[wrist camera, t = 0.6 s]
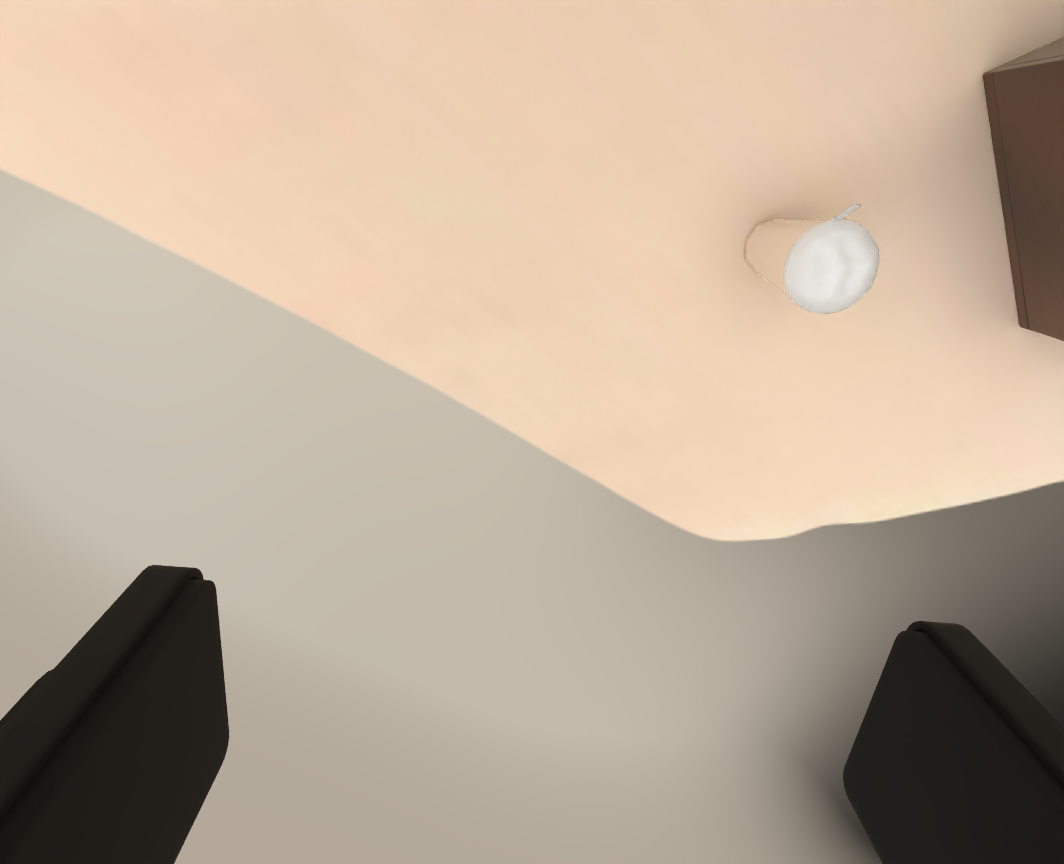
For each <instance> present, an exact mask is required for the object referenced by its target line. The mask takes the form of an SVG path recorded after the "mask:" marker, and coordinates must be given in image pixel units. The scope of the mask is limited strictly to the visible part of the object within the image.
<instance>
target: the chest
mask: <svg viewBox="0 0 1064 864" xmlns="http://www.w3.org/2000/svg"><path fill="white" fill-rule="evenodd" d="M983 78H984V85H985V92H986V99H987V105H988V112H989V119H990V126H991V133H992V139H993V146H994V153H995V160H996V167H997V174H998V180H999V187H1000V194H1001V201H1002V208H1003V214H1004V221H1005V228H1006V235H1007V242H1008V248H1009V255H1010V262H1011V269H1012V276H1013V282H1014V289H1015V296H1016V303H1017V310H1018V317H1019V323H1020V327H1023V328H1026V329H1030V330H1032V331H1035V332H1038V333H1041V334H1044V335H1047V336H1050V337H1053V338H1056V339H1059V340H1062V341H1064V38H1061V39H1059V40H1057V41H1055V42H1053V43H1050V44H1048V45H1046V46H1044V47H1042V48H1039V49H1037V50H1035V51H1033V52H1031V53H1028V54H1026V55H1024V56H1022V57H1020V58H1017V59H1015V60H1013V61H1011V62H1009V63H1006V64H1004V65H1002V66H1000V67H998V68H995V69H993V70H991V71H989V72H987V73H984V74H983Z"/></svg>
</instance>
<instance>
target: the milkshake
mask: <svg viewBox="0 0 1064 864" xmlns="http://www.w3.org/2000/svg"><path fill="white" fill-rule="evenodd" d="M860 206H861V204H857V205H851V206H850V207H849V208H847V209H846V210H844V211H843V212H842V213H840V214H839V215H838V216H836V217H835V218H834V219H832V220H794V219H772V220H770V221H767V222H765V223H762V224H760V225H758V226H756V227H755V229H754V230H753V232H752V233H751V235H750V236H749V237H748V239H747V240H746V253H745V259H746V260H747V261H748V263H749V264H750V266H751V267H752V268H753V270H754V271H755V272H756V273H757V274H759V275H760V276H761V277H763V278H764V279H765V280H767V281H768V282H769V283H771V284H772V285H773V286H775V287H776V288H777V289H779V290H780V291H781V292H783V293H784V294H785V295H786V296H787V297H788V298H789V299H791V300H792V301H793V302H794V303H795V304H796V305H798V306H799V307H800V308H802V309H804V310H806V311H808V312H811V313H815V314H828V313H834V312H838V311H841V310H843V309H845V308H847V307H849V306H851V305H852V304H854V303H855V302H856V301H858V300H859V299H860V298H862V297H863V296H864V295H865V294H866V293H867V292H868V290H869V289H870V288H871V286H872V284H873V282H874V280H875V277H876V273H877V268H878V263H879V250H878V247H877V245H876V243H875V241H874V239H873V238H872V236H871V235H870V233H869V232H868V231H867V230H866V229H865V228H864V227H863V226H862V225H860V224H858V223H856V222H853V221H849V220H842V219H843V218H844V217H846V216H847V215H849V214H850V213H851V212H853V211H854V210H855V209H857V208H858V207H860Z"/></svg>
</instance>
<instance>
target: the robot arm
mask: <svg viewBox="0 0 1064 864" xmlns="http://www.w3.org/2000/svg"><path fill="white" fill-rule="evenodd" d="M216 595H217V594H216V588H215V584H214V582H212V581H209V580H203V575H202V573H201V571H200V570H199V569H197V568H188V567H173V566H161V565H152V566H148V567H147V568H146V569H145V570H143V571H142V573H141V574H140V575H139V576H138V577H137V578H136V579H135V580H134V581H133V582H132V584H131V585H130V586H129V587H128V588H127V589H126V590H125V591H124V592H123V593H122V594H121V596H120V597H119V598H118V599H117V600H116V601H115V602H114V603H113V604H112V605H111V607H110V608H109V609H108V610H107V611H106V612H105V613H104V614H103V615H102V616H101V618H100V619H99V620H98V621H97V622H96V623H95V624H94V625H93V626H92V627H91V629H90V630H89V631H88V632H87V633H86V634H85V635H84V636H83V637H82V639H81V640H80V641H79V642H78V643H77V644H76V645H75V646H74V647H73V648H72V650H71V651H70V652H69V653H68V654H67V655H66V656H65V657H64V658H63V659H62V661H61V662H60V663H59V664H58V665H57V666H56V667H55V668H54V669H53V670H51V671H48V672H47V673H46V674H45V675H43V676H42V677H41V678H40V679H39V680H38V681H36V683H35V684H34V685H33V686H32V687H31V688H30V689H29V690H28V691H27V692H26V693H25V694H24V695H23V696H22V698H21V699H20V700H19V701H18V702H17V703H16V704H15V705H14V706H13V707H12V708H11V710H10V711H9V712H8V713H7V714H6V715H5V716H4V717H3V718H2V719H1V720H0V864H174V862H175V860H176V858H177V856H178V854H179V852H180V850H181V848H182V846H183V844H184V842H185V839H186V837H187V835H188V833H189V831H190V829H191V827H192V825H193V823H194V821H195V819H196V817H197V815H198V813H199V811H200V809H201V807H202V805H203V802H204V800H205V798H206V796H207V794H208V792H209V790H210V788H211V786H212V784H213V782H214V780H215V778H216V775H217V774H218V771H219V769H220V767H221V765H222V763H223V760H224V758H225V754H226V751H227V747H228V740H229V726H228V715H227V704H226V693H225V683H224V671H223V660H222V649H221V639H220V629H219V628H220V627H219V618H218V617H219V616H218V605H217V596H216ZM843 781H844V787H845V791H846V794H847V796H848V799H849V800H850V802H851V804H852V806H853V808H854V810H855V812H856V814H857V815H858V817H859V819H860V821H861V823H862V825H863V827H864V829H865V831H866V833H867V835H868V836H869V838H870V840H871V842H872V844H873V846H874V848H875V850H876V852H877V854H878V855H879V857H880V859H881V861H882V863H883V864H1064V727H1063V726H1062V725H1061V724H1060V723H1059V722H1058V721H1057V720H1056V719H1055V718H1054V717H1053V716H1052V715H1051V714H1050V713H1049V712H1048V711H1047V710H1046V709H1045V708H1044V707H1043V705H1041V704H1040V702H1039V701H1038V700H1037V699H1036V698H1035V697H1034V696H1033V695H1032V694H1031V693H1030V692H1029V691H1028V690H1027V689H1026V688H1025V687H1024V686H1023V685H1022V684H1021V683H1020V682H1019V681H1018V680H1017V679H1016V678H1015V677H1014V676H1013V675H1012V674H1011V673H1010V672H1009V671H1008V670H1007V669H1006V668H1005V667H1004V666H1003V665H1002V664H1001V663H1000V661H999V660H998V659H997V658H996V657H995V656H993V654H992V653H991V652H990V651H989V650H988V649H987V648H986V647H985V646H984V645H983V644H982V643H981V642H980V641H979V640H978V639H977V638H976V637H975V636H974V635H973V634H972V633H971V632H970V631H969V630H968V629H966V628H965V627H964V626H962V625H958V624H953V623H939V622H925V621H918V622H914V623H912V624H911V625H910V626H909V627H908V629H907V630H906V631H902V632H901V633H899V634H898V636H897V637H896V639H895V641H894V644H893V646H892V650H891V652H890V654H889V657H888V659H887V662H886V664H885V667H884V669H883V672H882V674H881V677H880V679H879V682H878V684H877V687H876V689H875V692H874V694H873V697H872V699H871V702H870V704H869V707H868V709H867V712H866V714H865V717H864V719H863V722H862V724H861V727H860V729H859V732H858V734H857V737H856V739H855V742H854V744H853V747H852V749H851V752H850V754H849V757H848V760H847V762H846V765H845V768H844V772H843Z"/></svg>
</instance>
